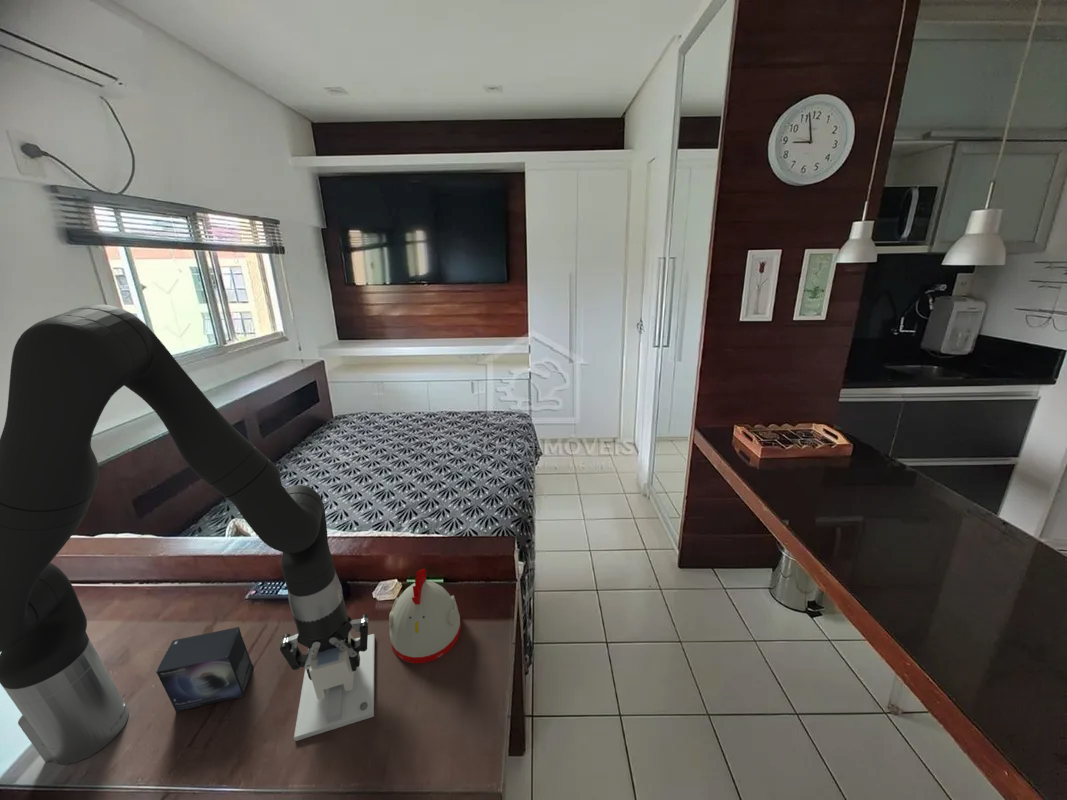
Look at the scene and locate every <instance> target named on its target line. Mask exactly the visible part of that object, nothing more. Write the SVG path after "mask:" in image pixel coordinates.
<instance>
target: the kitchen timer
mask: <svg viewBox="0 0 1067 800" xmlns="http://www.w3.org/2000/svg"><path fill="white" fill-rule="evenodd" d="M388 617H389V619H388V627H389V631H388V632H389V640H390V645H391V649H392V651H393V652H394V653H395V654H394V655H396V656H397V657H398V658H400V659H401V660H402V661H404V662H407V663H410V664H426V663H429V662H433V661H435V660H437V659H439V658H441V657H442V656H445V655H446V654H447V653H448V652H449V651H450V650H451V649H452V648H453V647H454V646H455V644H456V643H457V641H458V639H459V637H460V634H461V630H462V629H461V616H460V613H459V608H458V605H457V602H456V598H455V595H451V594H450V593H449V592H448V591H447V590H446V589H445V588H444V587H443V586H442V585H440V584H438V583H436V582H435V581H429V580H427V569H426V568H421V569H418V571H416V577H414V582H413V583H412V584H411V585H409V586H408V587H406V589H405V590H403V592H402V593H401V594H400V596H399V597H396V598H395V599H394V603H393V605H392V608H391V611H390V612H389V616H388Z"/></svg>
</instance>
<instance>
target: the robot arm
mask: <svg viewBox="0 0 1067 800" xmlns="http://www.w3.org/2000/svg"><path fill="white" fill-rule="evenodd" d="M123 387H126V388H127V389H129V390H130V391H131V392H133V393H134V394H136V395H137V396H138V397H139V398H141V399H142V400H143V401H144V402H145V403H146V404H147V405H148V407H150V408H151V409H152V410H153V411H154V412H155V413H156V414H157V417H159V418H160V420H161V422H162V423H163V425H164V426H165V428H166V430H167V432H168V433H169V435H170V436H171V438H172V440H173V443H174V445H175V446H176V448H177V450H178V452H179V453H180V455H181V457H182V459H183V460H184V461H185V463H186V464H187V465H188V467H189V468H190V469H191V470H192V471H193V472H194V473H195V474H196V475H197V476H198V477H199V478H200V479H201V480H202V481H204V483H206V484H208V486H210V487H211V488H213V489H214V490H215V491H216V492H217V493H218V494H220V495H221V496H222V497H224V498H225V499H226V500H227V501H229V502H231V503H232V504H233V505H234V506H235V508H236V509H237V511H238V512H239V514H240V515H241V517H242V518H243V519H244V520H245V522H246V523H247V524H248V527H250V528H251V530H252V531H253V532H254V533H255V534H256V536H257V537H258V538H259V540H261V541H262V542H263V543H264V544H265V545H267V546H268V547H270V548H272V549H273V550H275V551H278V552H280V553H282V554H281V563H280V565H281V566H280V567H281V571H282V572H281V573H282V576H283V579H284V583H285V587H286V590H287V595H288V596H287V598H288V604H289V607H290V610H291V613H292V616H293V617H292V618H293V619H294V623H295V627H296V630H297V633H296V634H293V635H291V634H290V633H286V634H283V635H282V639H281V642H280V646H279V651H280V652H281V654H282V656H283V657H284V659H285V660H286V661H287V664H288V665H289V666H290V668H291V669H292V670H294V671H297V670H299V669H300V668H304V670H305V669H306V670H307V674H308V677H309V679H310V680H312V679H311V676H310V672H309V670H310V663H311V660H315V658H316V655H317V652H322V651H325V650H327V649H333V648H338V649H339V650H341V651H342V652H345V651H347V652H348V655H349V660H350V664H351V668H352V672H353V671H356V670H357V667H359V665H360V655H359V652H360V651H362V652H364V651H366V650H367V641H368V635H369V615H368V614H363V615H361V616H360V618H357V619H352V618H351V617H350V616H349V615H348V612H347V607H346V604H345V600H344V595H343V587H342V584H341V582H340V580H339V576H338V574H337V572H336V568H335V563H334V561H333V557H332V552H331V550H330V546H329V539H328V527H327V525H328V524H327V518H326V517H327V516H326V510H325V506H324V502H323V500H322V498H321V496H320V494H319V492H317V491H316V490H315V489H313V488H311V487H310V486H307V485H303V484H296V485H291V486H288V487H287V488H284V485H283V484H282V478H281V477H282V476H281V471H280V469H279V468H278V467H277V466H276V464H275V463H274V462H273V461H272V460H271V459H269V458H268V457H267V456H266V455H265V454H264V453H263V452H262V451H260V450H259V449H258V448H257V447H256V446H255V445H254V444H253V443H251V442H250V441H249V440H248V438H246V437H245V436H244V435H243V434H242V433H240V432H239V430H237V429H236V428H235V426H233V425H232V424H231V423H230V422H229V421H228V419H227V418H225V417H224V415H223V414H221V412H220V411H219V410H218V409H217V408H216V407H215V405H214V404H212V403H213V402H211V401H210V400H209V399H208V398H207V396H206V395H205V394H204V393H203V391H202V390H201V389H200V388H199V386H198V385H197V384H196V383H195V381H193V379H192V378H191V377H190V375H189V374H187V372H186V371H185V370H184V369H183V367H182V366H181V365H180V364H179V363H178V361H177V360H176V358H175V357H174V356H173V355H172V354H171V352H170V351H169V350H168V349H167V347H166V346H165V345H164V344H163V342H162V341H161V340H160V339H159V338H158V336H157V335H156V334H155V333H154V332H153V330H152V329H151V328H150V327H149V326H148V325H147V324H146V323H145V322H144V321H143V320H141V319H140V318H139V317H137V316H136V315H135V314H134V313H132V312H130V311H127V310H126V309H124V308H121V307H119V306H115V305H110V304H102V303H101V304H100V303H99V304H89V305H88V304H87V305H84V306H80V307H78V308H77V307H76V308H74V309H71V310H69V311H66V312H63V313H60V314H57V315H54V316H51V317H48V318H46V319H43V320H40V321H38V322H36V323H34V324H33V325H31V326H30V327H29V328H27V329H26V330H24V331H23V332H22V334H21V335H20V336H19V337H18V339H17V341H16V343H15V346H14V349H13V351H12V357H11V364H10V375H9V386H8V398H7V399H8V400H7V408H6V417H5V421H4V422H5V423H4V426H3V429H2V431H1V435H0V686H1V687H2V688H3V690H4V691H5V692H6V694H7V695H8V696H9V698H10V699H11V701H12V702H13V704H14V705H15V707H16V708H17V709H18V711H19V712H20V713H21V716H20V718H19V719H18V722H17V724H18V726H19V728H20V729H21V731H23V733H24V734H25V736H26V737H27V739H28V740H29V742H30V743H31V744H32V746H33V748H34V749H35V750H36V752H37V753H38V755H40V757H41V758H42V760H43V761H44V762H45V763H48V762H51V761H52V762H53V761H54V762H55V763H57V764H60V765H70V764H73V763H78V762H80V761H83V760H85V759H88V758H89V757H91V756H93V755H95V754H97V752H99V751H100V750H102V749H104V748H105V747H106V746H107V745H109V743H110V742H112V741H114V739H115V737H117V736H118V734H119V733H120V732H121V731H122V730H123V728H124V727H125V725H126V723H127V722H128V720H129V719H128V718H129V713H130V711H129V708H128V706H127V704H126V703H125V701H124V699H123V696H122V695H121V694H120V691H119V689H118V687H117V686H116V684H115V682H114V680H113V679H112V677H111V676H110V674H109V672H108V670H107V668H106V666H105V664H104V662H103V660H102V659H101V657H100V655H99V654H98V651H97V650H96V648H95V646H94V645H93V642H92V640H91V639H90V637H89V635H88V633H87V627H88V622H87V621H88V619H87V617H86V614H85V612H84V609H83V607H82V604H81V603H80V599H79V598H78V596H77V592H76V590H75V589H74V586H73V584H72V582H71V581H70V579H69V577H68V576H67V574H65V573H64V571H62V569H60V567H58V566H56V565H55V564H54V563H52V560H54V558H55V557H56V556H57V555H58V554H59V553H60V551H61V550H62V549H63V548H64V546H65V545H66V544H67V543H68V541H69V540H70V539H71V537H72V536H73V535H74V533H75V532H76V530H77V529H78V528H79V526H80V524H82V522H83V520H84V517H85V515H86V514H87V513H88V510H89V507H90V504H91V502H92V499H93V496H94V494H95V491H96V490H97V489H96V488H97V486H98V483H99V478H100V468H99V467H100V466H99V462H98V459H97V458H96V455H95V452H94V451H93V449H92V437H93V434H94V431H95V429H96V426H97V424H98V422H99V420H100V417H101V416H102V413H103V411H104V409H105V408H106V406H107V404H109V403H108V402H109V401H110V400H111V399H112V397H113V396H114V395H115V394H116V393H117V392H118V391H119V390H121V388H123ZM352 629H354V630H355V632H356V633H357V634H358V635H360V636H359V637H360V639H359V640H355V639H356V638H355V637H353V635H352V633H351V631H352ZM298 643H299V644H300V645H301V646H304V647H306V648H308V649H307V652H306V654H303V653H302V652H301V650H300V648H299V647H298Z"/></svg>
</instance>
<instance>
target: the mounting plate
mask: <svg viewBox="0 0 1067 800" xmlns="http://www.w3.org/2000/svg"><path fill="white" fill-rule="evenodd" d="M354 639H355V640H359V639H360V636H359V637H356V638H354ZM375 639H376V637H375V633H372V634H368V641H367V650H366V651H364V652H362V651H360V652H359V655H360V665H359V667H357V670H356V671H354V679H353V690H350V691H346V692H345V688H344V684H341V685H338V686H334V687H331V688H327V689H326V697H325V698H322V699H319V700H318V699H317V696H316V692H315V689H314V686H313V682H312V680H310V679H309V677H308V674H307V670H306V669H305V668H304V674H303V680H302V685H301V686H302V687H301V692H300V699H299V705H298V709H297V717H296V723H295V728H294V734H293V735H294V736H293V740H294V741H295V742H297V741H301V740H305V739H307V738H310V737H313V736H317V735H319V734H323V733H325V732H328V731H333V730H336V729H339V728H342V727H344V726H349V725H352V724H355V723H357V722H361V721H364V720H367V719H370V718H373V717H375V664H376V663H375V659H376V658H375V657H376V656H375V654H376V651H375V649H376V648H375V647H376V645H375V644H376V642H375V641H376V640H375Z"/></svg>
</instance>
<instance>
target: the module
mask: <svg viewBox="0 0 1067 800" xmlns="http://www.w3.org/2000/svg"><path fill="white" fill-rule="evenodd" d="M309 672H310V676H311V679H312V682H313V686H314V689H315V692H316V696H317V699H318V700H319V699H322V698H325V697H326V689H327V688H331V687H334V686H338V685H341V684H344V688H345V692H346V691H350V690H353V679H354V671H353V672H352V668H351V664H350V660H349V655H348V652H347V651H345V652H342V651H341V650H339V649H338V648H333V649H327V650H325V651H322V652H317V655H316V658H315V660H311V663H310V670H309Z"/></svg>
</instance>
